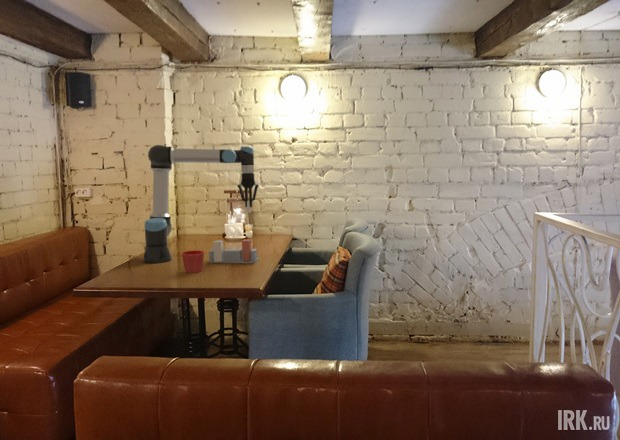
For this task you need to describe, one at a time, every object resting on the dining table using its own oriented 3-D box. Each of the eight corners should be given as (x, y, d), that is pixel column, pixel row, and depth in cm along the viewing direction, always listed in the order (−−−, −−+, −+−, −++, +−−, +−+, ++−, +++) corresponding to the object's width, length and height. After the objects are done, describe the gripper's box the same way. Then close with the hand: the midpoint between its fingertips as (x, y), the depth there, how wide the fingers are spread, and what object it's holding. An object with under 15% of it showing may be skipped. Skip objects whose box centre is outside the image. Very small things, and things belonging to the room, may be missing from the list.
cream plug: (214, 261, 273) (213, 241, 271) (216, 260, 277) (215, 240, 275) (221, 261, 272) (220, 241, 271) (223, 260, 276) (223, 240, 275)
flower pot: (199, 273, 247) (198, 254, 246) (178, 273, 249) (178, 253, 248) (208, 269, 258) (207, 250, 256) (188, 268, 260) (187, 250, 259)
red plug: (242, 260, 274) (241, 240, 272) (244, 259, 278) (243, 239, 277) (250, 260, 273) (249, 240, 272) (251, 259, 278) (251, 239, 276)
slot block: (209, 263, 274) (209, 251, 273) (215, 258, 286) (215, 247, 285) (254, 263, 272) (254, 250, 271) (259, 258, 284) (258, 247, 283)
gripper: (235, 173, 295) (236, 213, 297) (257, 172, 294) (258, 213, 296) (238, 172, 302) (239, 212, 305) (259, 172, 301) (260, 211, 304)
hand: (248, 212), depth 301 cm, fingers closed
